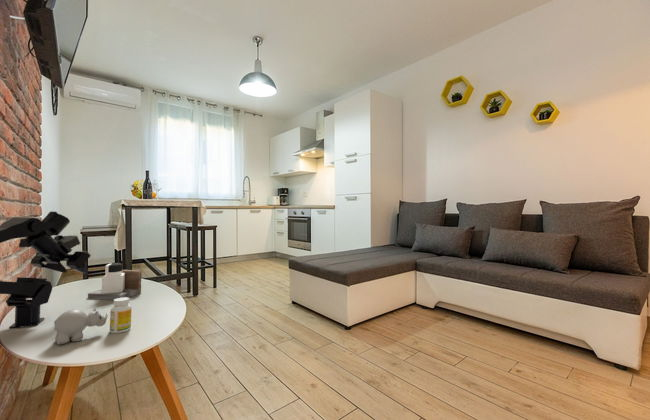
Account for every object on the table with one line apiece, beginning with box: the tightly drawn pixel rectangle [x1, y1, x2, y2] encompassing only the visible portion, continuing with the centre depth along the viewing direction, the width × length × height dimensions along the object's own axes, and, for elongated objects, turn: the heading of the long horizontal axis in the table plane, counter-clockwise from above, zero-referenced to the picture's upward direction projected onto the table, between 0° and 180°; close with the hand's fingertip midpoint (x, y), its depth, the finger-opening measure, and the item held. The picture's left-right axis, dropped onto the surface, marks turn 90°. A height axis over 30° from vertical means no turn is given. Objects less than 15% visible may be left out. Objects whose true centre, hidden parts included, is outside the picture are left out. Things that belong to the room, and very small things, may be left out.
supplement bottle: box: [109, 297, 132, 334], centre depth 91 cm, size 5×5×10 cm
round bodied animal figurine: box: [53, 308, 109, 345], centre depth 85 cm, size 7×12×8 cm, turn 136°
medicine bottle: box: [101, 262, 125, 294], centre depth 127 cm, size 7×7×12 cm
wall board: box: [87, 269, 143, 301], centre depth 127 cm, size 12×15×10 cm
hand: (76, 272), depth 110 cm, fingers open, 9 cm apart
